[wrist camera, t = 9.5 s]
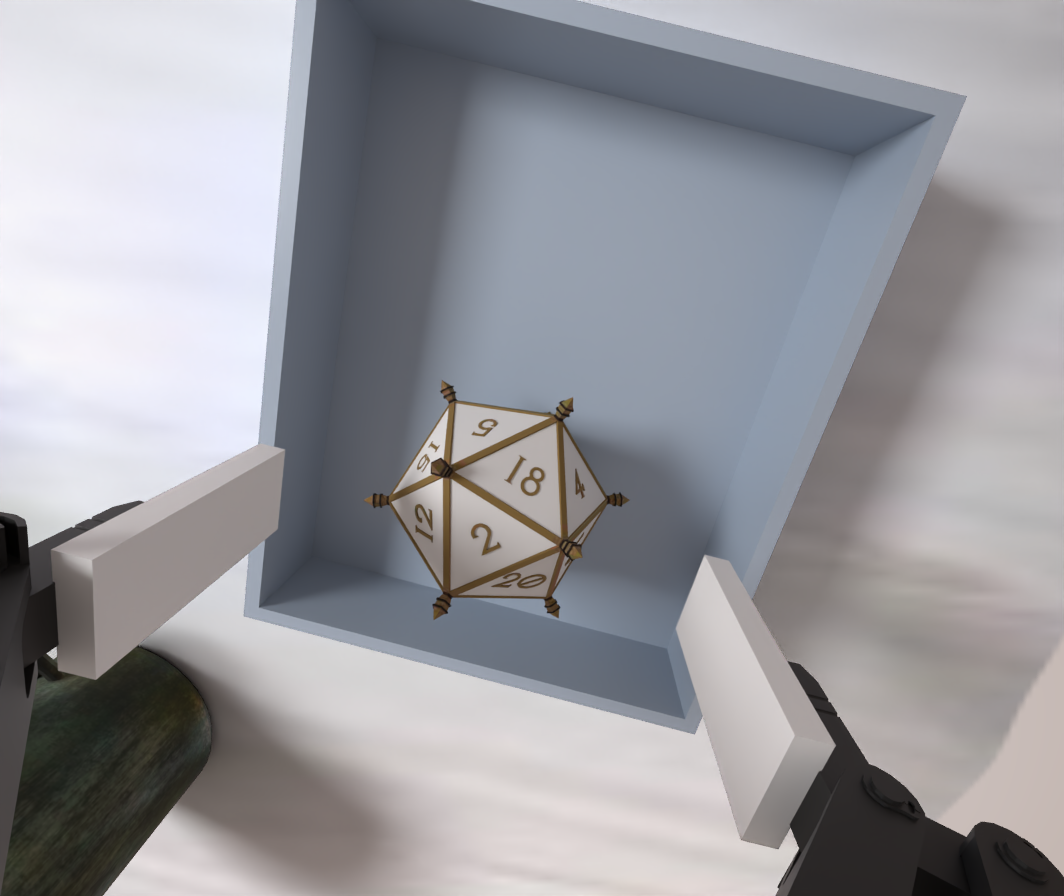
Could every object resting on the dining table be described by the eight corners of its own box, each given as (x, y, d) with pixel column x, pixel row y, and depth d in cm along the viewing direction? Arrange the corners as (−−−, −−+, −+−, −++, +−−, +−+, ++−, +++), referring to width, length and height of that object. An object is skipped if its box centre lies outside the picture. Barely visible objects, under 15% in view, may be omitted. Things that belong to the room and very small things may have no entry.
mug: (89, 789, 32) (-180, 1062, 21) (-9, 583, 28) (-408, 779, 17) (250, 783, 31) (56, 1071, 19) (169, 566, 27) (-132, 765, 16)
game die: (557, 431, 26) (720, 497, 18) (467, 575, 26) (595, 709, 18) (420, 324, 21) (564, 352, 13) (302, 502, 20) (378, 646, 12)
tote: (304, 557, 26) (243, 616, 21) (369, 22, 19) (302, -68, 15) (672, 653, 26) (694, 734, 21) (869, 146, 19) (966, 96, 14)
